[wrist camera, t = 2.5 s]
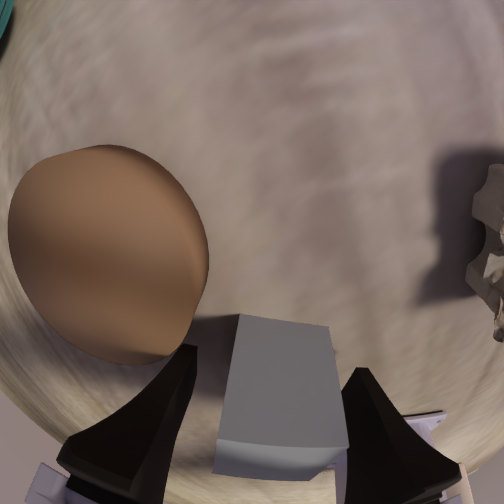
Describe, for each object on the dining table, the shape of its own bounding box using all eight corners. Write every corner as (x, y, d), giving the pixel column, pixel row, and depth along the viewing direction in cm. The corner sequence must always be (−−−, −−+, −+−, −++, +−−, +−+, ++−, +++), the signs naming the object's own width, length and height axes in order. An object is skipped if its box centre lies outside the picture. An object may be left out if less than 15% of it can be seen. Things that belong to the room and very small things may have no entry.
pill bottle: (458, 468, 27) (470, 524, 14) (422, 484, 29) (431, 542, 16) (468, 457, 24) (483, 520, 11) (428, 475, 26) (439, 542, 13)
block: (304, 379, 14) (309, 481, 8) (230, 370, 14) (212, 473, 8) (328, 326, 12) (349, 446, 6) (239, 313, 12) (217, 438, 6)
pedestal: (203, 347, 13) (191, 386, 11) (58, 305, 13) (35, 331, 11) (221, 152, 9) (203, 162, 7) (36, 146, 9) (-3, 157, 7)
